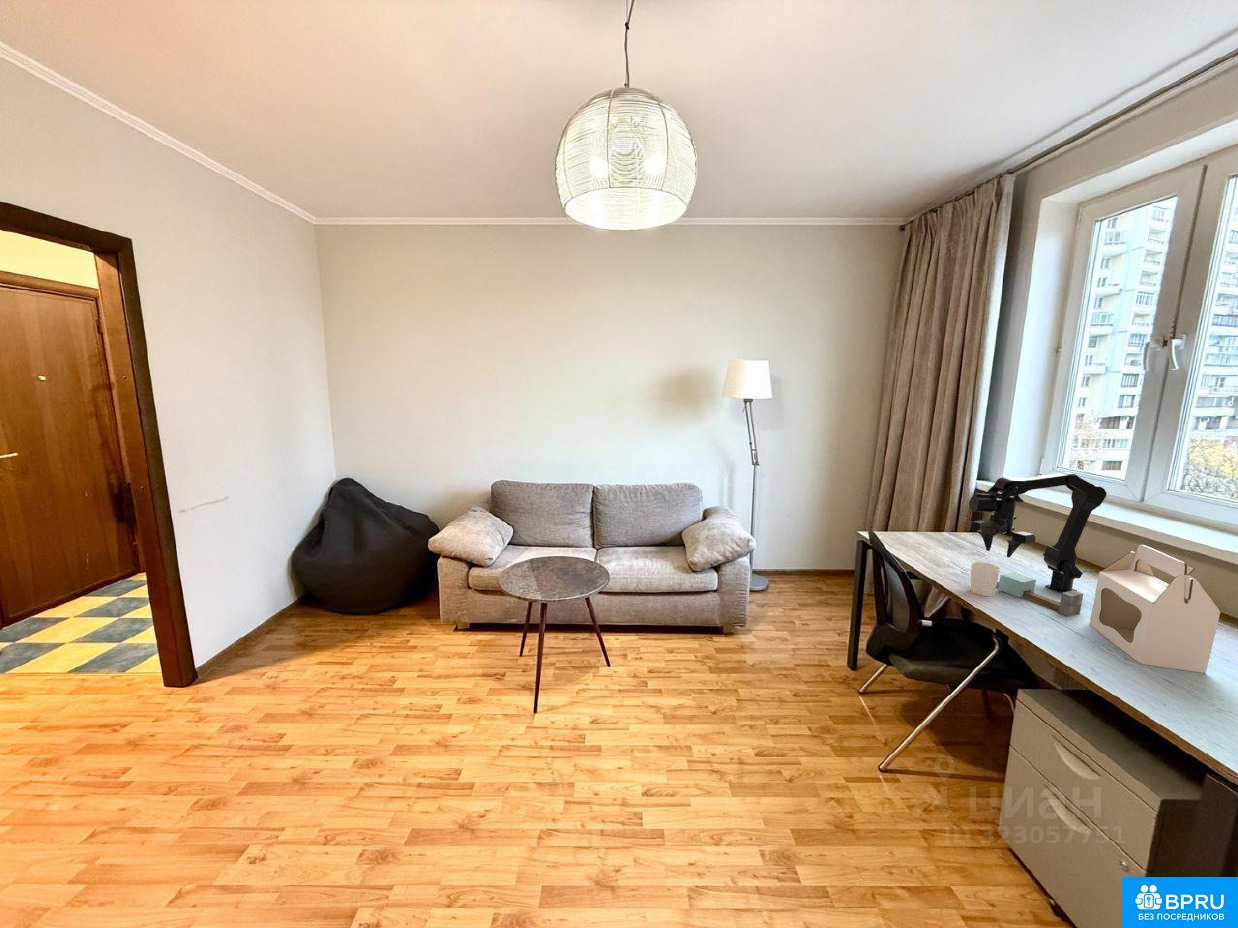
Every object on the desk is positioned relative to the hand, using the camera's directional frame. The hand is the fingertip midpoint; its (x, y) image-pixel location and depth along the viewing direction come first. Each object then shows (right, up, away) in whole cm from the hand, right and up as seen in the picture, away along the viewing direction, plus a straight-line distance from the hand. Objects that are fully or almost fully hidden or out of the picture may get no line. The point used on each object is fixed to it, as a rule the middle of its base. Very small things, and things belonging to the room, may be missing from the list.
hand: (997, 553), depth 171 cm
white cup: (-9, -13, -4) cm, 17 cm away
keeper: (+2, -13, -5) cm, 14 cm away
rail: (+4, -14, -10) cm, 18 cm away
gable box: (+9, -19, -39) cm, 44 cm away
